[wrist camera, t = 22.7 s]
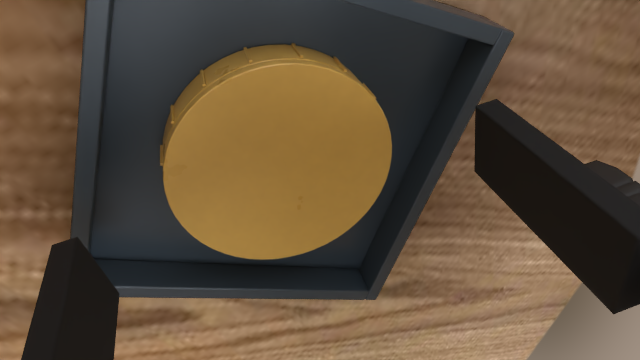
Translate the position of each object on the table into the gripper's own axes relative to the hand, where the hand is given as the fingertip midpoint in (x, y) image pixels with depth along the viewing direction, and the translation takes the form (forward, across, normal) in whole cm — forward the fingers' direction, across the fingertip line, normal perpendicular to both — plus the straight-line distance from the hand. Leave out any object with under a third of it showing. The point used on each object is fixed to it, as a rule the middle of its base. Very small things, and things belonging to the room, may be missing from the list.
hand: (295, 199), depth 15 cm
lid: (+2, 0, 0) cm, 2 cm away
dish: (+4, 0, 0) cm, 4 cm away
